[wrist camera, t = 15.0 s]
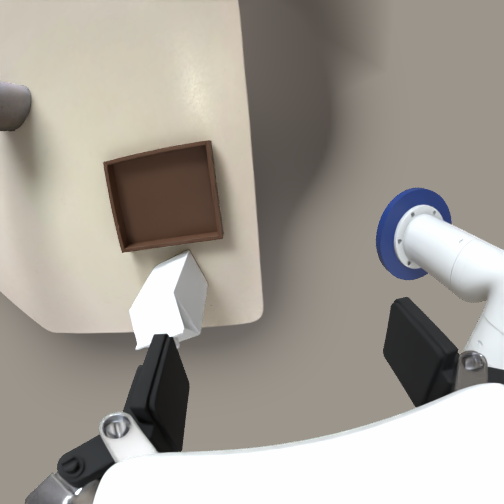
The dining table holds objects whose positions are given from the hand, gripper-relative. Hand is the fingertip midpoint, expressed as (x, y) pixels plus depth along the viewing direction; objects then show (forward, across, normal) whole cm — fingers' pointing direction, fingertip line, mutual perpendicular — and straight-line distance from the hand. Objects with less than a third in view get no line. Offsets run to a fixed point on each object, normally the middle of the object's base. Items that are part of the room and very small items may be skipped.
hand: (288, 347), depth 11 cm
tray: (+36, +13, -2) cm, 39 cm away
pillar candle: (+36, +43, -27) cm, 63 cm away
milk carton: (+36, +13, +12) cm, 41 cm away
